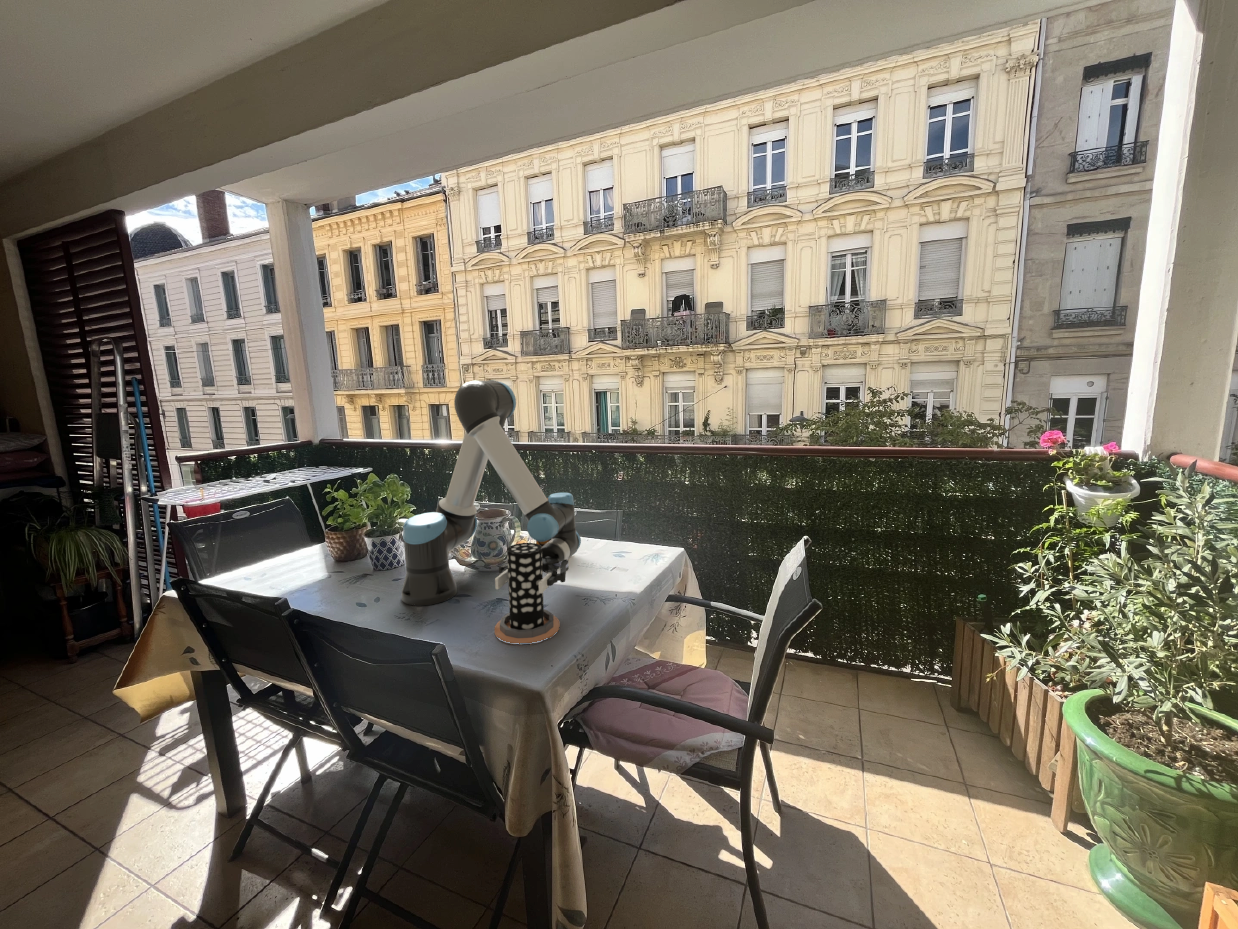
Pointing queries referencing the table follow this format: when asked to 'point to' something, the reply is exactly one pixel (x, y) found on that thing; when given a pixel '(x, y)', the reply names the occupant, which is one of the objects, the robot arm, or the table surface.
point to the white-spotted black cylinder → (525, 586)
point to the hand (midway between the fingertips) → (518, 585)
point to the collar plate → (528, 635)
